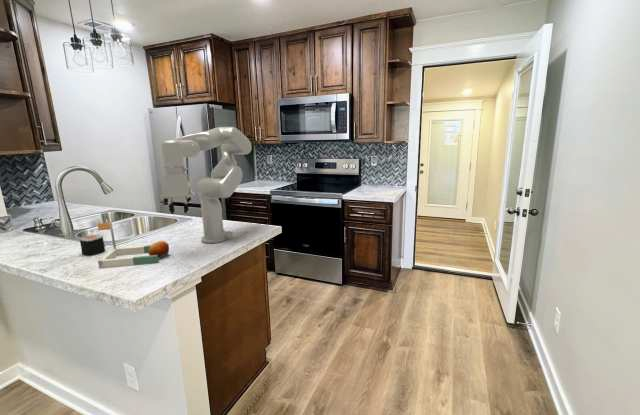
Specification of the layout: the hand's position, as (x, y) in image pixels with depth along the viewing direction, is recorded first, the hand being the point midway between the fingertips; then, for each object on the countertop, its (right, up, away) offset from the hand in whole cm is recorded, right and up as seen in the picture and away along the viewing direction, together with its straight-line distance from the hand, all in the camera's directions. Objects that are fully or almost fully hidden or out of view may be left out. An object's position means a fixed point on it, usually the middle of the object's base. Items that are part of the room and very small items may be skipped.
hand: (179, 212), depth 130 cm
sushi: (-43, -19, +8) cm, 47 cm away
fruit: (-10, -20, +2) cm, 22 cm away
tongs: (-21, -20, 0) cm, 29 cm away
